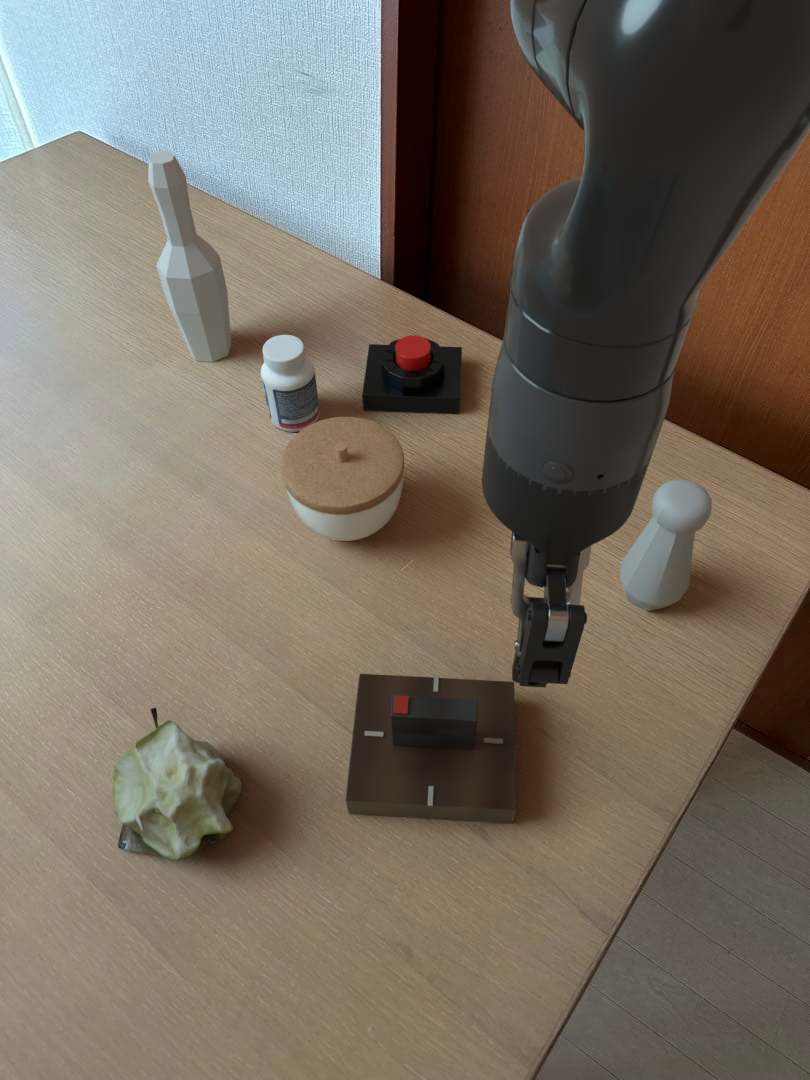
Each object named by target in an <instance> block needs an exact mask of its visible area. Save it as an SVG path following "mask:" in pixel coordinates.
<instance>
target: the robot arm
mask: <svg viewBox="0 0 810 1080" xmlns="http://www.w3.org/2000/svg"><path fill="white" fill-rule="evenodd" d="M509 1H510V2H509V3H510V5H509V6H510V17H511V23H512V29H513V32H514V33H513V34H514V36H515V39H516V41H517V44H518V46H519V48H520V52H521V53H522V56H523V58H524V59H525V61H526V63H527V64H528V66H529V67H530V69H531V70H532V71H533V73H534V74H535V75H536V77H537V78H538V79H539V81H540V82H541V83H542V84H543V85H544V87H545V88H547V90H548V91H549V93H550V94H551V95H552V96H553V97H554V98H555V99H556V100H557V101H558V103H559V104H560V105H561V106H562V108H563V109H564V110H565V111H566V112H567V114H568V115H569V116H570V117H571V118H572V120H573V121H574V122H575V123H576V124H577V125H578V127H579V128H580V129H581V130H582V131H583V136H584V137H583V159H582V160H583V161H582V172H581V176H580V177H576V178H572V179H569V180H566V181H563V182H561V183H559V184H557V185H555V186H554V187H552V188H550V189H549V190H548V191H546V192H545V193H544V194H543V195H541V196H540V197H539V198H538V199H537V200H536V201H535V203H534V204H533V205H532V206H531V207H530V208H529V210H528V212H527V214H526V216H525V217H524V220H523V222H522V224H521V226H520V230H519V233H518V237H517V242H516V246H515V249H514V255H513V259H512V265H511V274H510V279H509V289H508V297H507V305H506V313H505V322H504V333H503V339H502V344H501V346H500V350H499V353H498V356H497V360H496V363H495V368H494V372H493V378H492V383H491V391H490V401H489V409H488V420H487V427H486V435H485V444H484V445H485V446H484V455H483V463H482V472H481V488H482V493H483V497H484V500H485V502H486V504H487V506H488V509H490V511H491V513H492V514H493V516H494V517H495V518H496V519H497V520H498V521H499V522H500V523H501V524H502V525H503V526H505V528H507V529H508V530H509V531H511V534H510V535H511V536H510V547H509V554H510V560H511V562H512V564H513V569H512V570H513V571H512V573H513V574H512V584H511V595H510V604H511V610H512V614H513V615H514V616H515V617H516V618H517V619H518V625H517V636H516V637H517V638H516V639H515V640H514V651H515V653H514V657H513V661H512V662H513V663H512V665H511V680H512V682H514V683H516V684H517V683H518V684H519V687H530V688H546V687H547V685H548V684H555V685H557V684H558V685H568V684H569V680H570V678H571V675H572V670H573V667H574V663H575V659H576V657H577V654H578V649H579V646H580V643H581V639H582V635H583V633H584V629H585V625H587V621H588V613H587V612H586V608H585V605H584V604H581V599H582V598H581V597H582V590H583V589H582V588H583V578H584V572H585V570H586V569H587V568H588V567H589V565H590V561H591V549H592V545H593V546H594V545H595V544H597V543H599V542H601V541H603V540H605V539H607V538H609V537H610V536H612V535H613V534H615V533H617V531H619V530H620V529H621V528H622V527H623V526H624V525H625V524H626V522H627V521H628V519H629V518H630V517H631V515H632V513H633V511H634V508H635V505H636V503H637V499H638V497H639V494H640V491H641V488H642V485H643V482H644V480H645V477H646V474H647V471H648V468H649V465H650V463H651V459H652V458H653V457H652V456H653V454H654V452H655V448H656V446H657V442H658V439H659V436H660V433H661V431H662V427H663V425H664V421H665V419H666V416H667V411H668V409H669V405H670V401H671V395H672V390H673V383H674V382H673V381H674V376H675V372H676V368H677V364H678V362H679V359H680V356H681V353H682V350H683V347H684V343H685V341H686V338H687V335H688V332H689V329H690V326H691V324H692V320H693V319H694V318H693V317H694V315H695V312H696V308H697V305H698V302H699V298H700V294H701V290H702V287H703V286H704V284H705V282H706V281H707V279H708V278H709V277H710V275H711V274H712V272H713V271H714V270H715V268H716V267H717V266H718V264H719V262H720V261H721V259H722V258H723V257H724V256H725V255H726V254H727V252H728V251H729V249H730V248H731V247H732V246H733V244H734V243H735V241H736V240H737V239H738V237H739V235H740V234H741V233H742V231H743V229H744V228H745V226H746V224H747V223H748V222H749V220H750V219H751V217H752V216H753V214H754V213H755V212H756V210H757V209H758V207H759V206H760V205H761V203H762V202H763V201H764V199H765V197H766V196H767V194H768V193H769V192H770V190H771V189H772V187H773V186H774V185H775V184H776V182H777V180H778V179H779V178H780V176H781V175H782V173H783V172H784V171H785V170H786V168H787V166H788V165H789V163H790V162H791V160H792V159H793V158H794V156H795V155H796V154H797V152H798V151H799V149H800V147H801V146H802V144H803V143H804V141H805V139H806V138H807V136H808V135H809V133H810V0H509ZM526 581H527V583H528V584H530V585H531V586H534V587H538V588H543V597H537V596H536V597H533V596H527V595H526V594H525V582H526Z"/></svg>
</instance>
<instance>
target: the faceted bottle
mask: <svg viewBox="0 0 810 1080" xmlns="http://www.w3.org/2000/svg"><path fill="white" fill-rule="evenodd" d="M147 169H148V171H147V172H148V173H147V182H148V185H149V187H150V190H151V192H152V195H153V198H154V201H155V203H156V206H157V208H158V211H159V214H160V218H161V222H162V225H163V229H164V233H165V237H166V239H167V241H166V243H165V244H164V247H163V250H162V252H161V254H160V256H159V258H158V260H157V263H156V269H157V272H158V277H159V279H160V283H161V286H162V289H163V293H164V296H165V300H166V303H167V304H168V306H169V309H170V312H171V313H172V315H173V318H174V320H175V322H176V324H177V326H178V329H179V331H180V333H181V336H182V338H183V340H184V342H185V345H186V347H187V349H188V351H189V353H190V355H191V356H192V358H194V360H195V362H206V363H214V362H217V361H219V360H221V359H223V358H227V357H228V356H229V354H230V351H231V348H232V345H233V344H232V334H231V333H232V331H231V320H230V307H229V296H228V295H229V294H228V287H227V284H226V282H227V281H226V278H225V274H224V273H225V272H224V270H223V265H222V261H221V256H220V254H219V253H218V252H217V251H216V250H215V249H214V247H213V246H212V245H211V244H210V243H209V242H208V241H206V240H205V239H204V238H203V237H201V236H200V235H199V234H198V233H197V229H196V225H195V221H194V218H193V217H194V216H193V213H192V209H191V204H190V197H189V190H188V181H187V176H186V174H185V172H184V170H183V168H182V166H181V164H180V163H179V161H178V159H177V158H176V155H175V154H173V152H172V151H170V150H159V151H156V152H153V153H151V154H150V156H149V158H148V168H147Z"/></svg>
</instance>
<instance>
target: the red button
mask: <svg viewBox="0 0 810 1080" xmlns="http://www.w3.org/2000/svg"><path fill="white" fill-rule="evenodd" d="M425 338H426V337H424V336H421V335H415V334H411V335H410V334H409V335H406V336H403V337H401V338H399V339H400V340H398V339H397V340H398V342H397V343H396V346H395V352H396V363H397V365H398V366H399V367H400V368H402V369H404V370H406V371H418V370H421V369H424V368H426V367H427V366H428V365H429V364H430V361H431V345H430V343H429V341H428V340H427V339H428V338H427V339H425Z"/></svg>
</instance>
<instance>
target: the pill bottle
mask: <svg viewBox="0 0 810 1080" xmlns="http://www.w3.org/2000/svg"><path fill="white" fill-rule="evenodd" d="M262 357H263V363H262V366H261V368H260V378H261V384H262V388H263V394H264V397H265V398H264V399H265V402H266V408H267V412H268V416H269V419H270V421H271V423H272V425H274V427H276V428H277V429H278V430H281V431H284V432H289V433H290V432H291V433H296V432H300V431H301V430H303V429H304V428H306V427H308V426H309V425H311V424H314V423H316V422H318V421H319V418H320V415H321V408H320V407H321V406H320V400H319V394H318V393H319V392H318V385H317V379H316V371H315V366H314V363H313V361H312V360H311V359H310V357H308V356H307V354H306V349H305V345H304V342H303V340H302V339H301V338H299V337H298V336H296V335H291V334H278V335H275V336H272V337H270V338H269V339H267V340H266V341H265V343H264V344H263V346H262Z"/></svg>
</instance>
